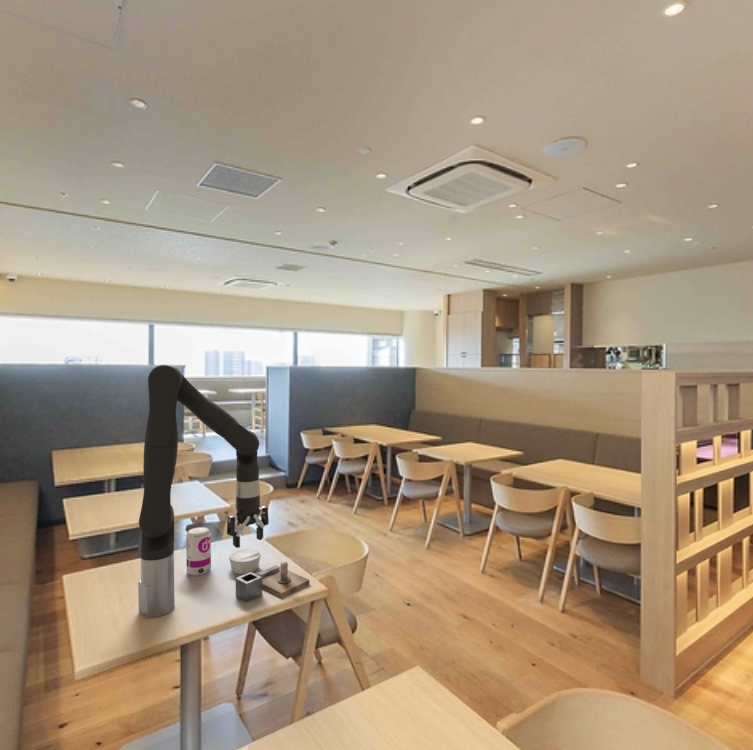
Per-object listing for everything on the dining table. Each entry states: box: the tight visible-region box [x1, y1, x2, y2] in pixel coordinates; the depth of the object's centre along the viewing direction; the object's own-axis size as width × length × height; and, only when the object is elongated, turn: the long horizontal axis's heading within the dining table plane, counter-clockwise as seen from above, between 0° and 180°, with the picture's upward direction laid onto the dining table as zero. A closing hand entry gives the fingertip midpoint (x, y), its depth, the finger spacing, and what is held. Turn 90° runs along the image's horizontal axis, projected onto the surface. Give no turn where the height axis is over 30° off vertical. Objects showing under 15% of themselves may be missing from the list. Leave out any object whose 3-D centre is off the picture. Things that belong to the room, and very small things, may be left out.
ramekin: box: [228, 548, 261, 575], centre depth 175 cm, size 11×11×5 cm
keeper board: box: [255, 561, 310, 599], centre depth 164 cm, size 12×18×8 cm, turn 50°
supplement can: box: [185, 526, 212, 577], centre depth 172 cm, size 8×8×15 cm
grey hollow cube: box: [235, 572, 263, 603], centre depth 155 cm, size 6×6×6 cm
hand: (248, 543), depth 154 cm, fingers open, 8 cm apart
